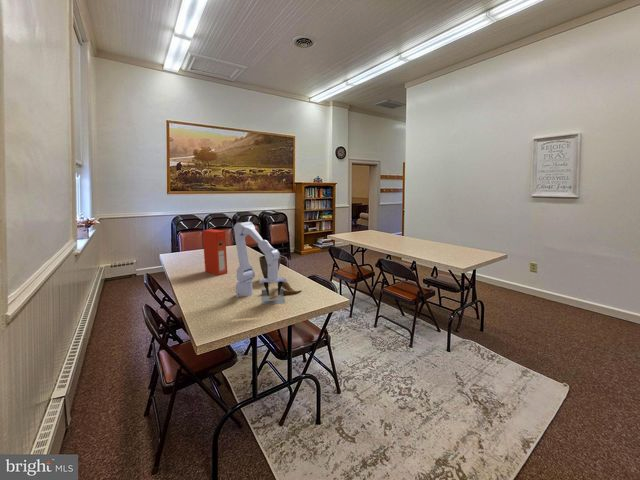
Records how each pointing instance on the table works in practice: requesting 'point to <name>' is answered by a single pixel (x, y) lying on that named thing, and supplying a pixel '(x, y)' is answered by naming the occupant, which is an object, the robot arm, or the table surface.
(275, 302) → the wall board
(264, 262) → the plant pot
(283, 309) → the table surface
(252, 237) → the robot arm
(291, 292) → the hammer
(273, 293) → the cabinet block
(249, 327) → the table surface
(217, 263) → the file binder
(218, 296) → the table surface
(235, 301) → the table surface
